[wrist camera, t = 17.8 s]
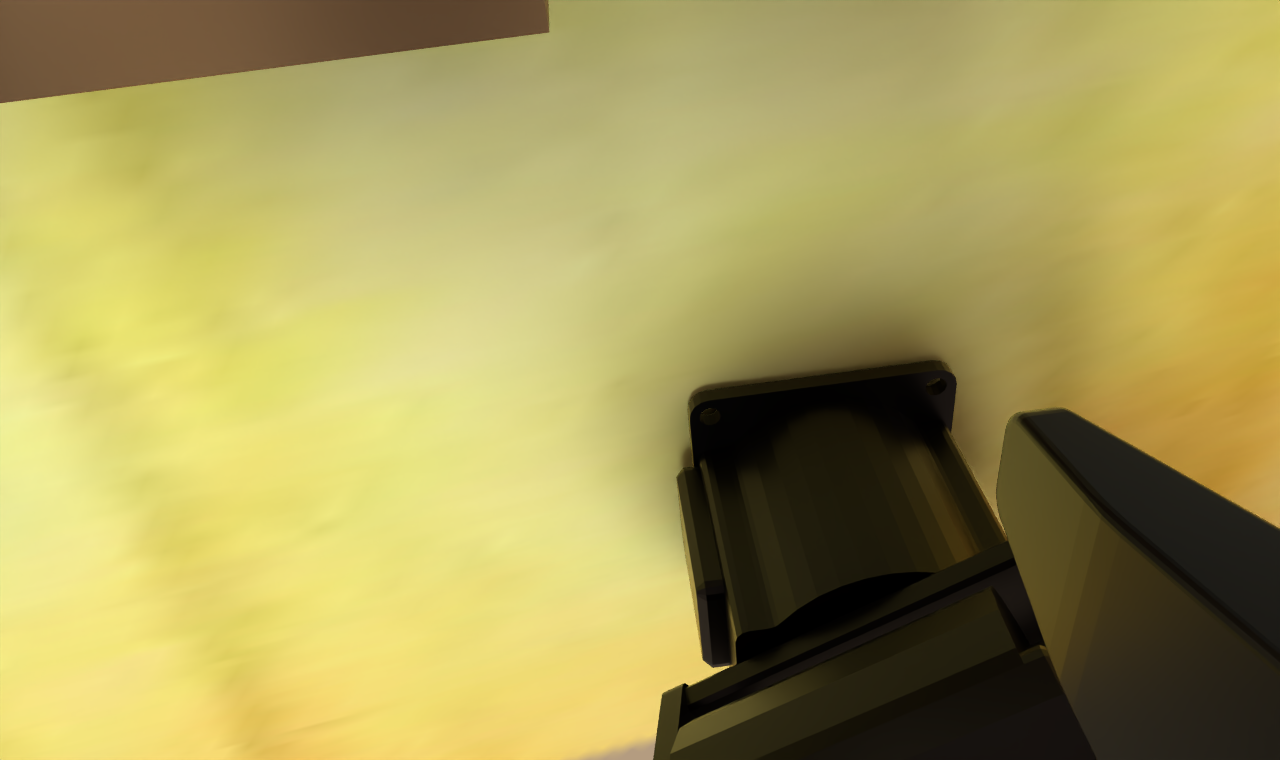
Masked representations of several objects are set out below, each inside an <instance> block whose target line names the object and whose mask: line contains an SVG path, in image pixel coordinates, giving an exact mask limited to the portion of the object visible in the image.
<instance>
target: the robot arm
mask: <svg viewBox="0 0 1280 760" xmlns="http://www.w3.org/2000/svg"><path fill="white" fill-rule="evenodd" d="M936 378H940V380H939V381H938V382H937V383H936V384H933V385H930V386H928V385H927V384H928V383H929V382H930V381H931V380H933V379H936ZM956 385H957V383H956V378H955V376H954V374H953V372H952V371H951V369H950V368H949V366H948V365H947V364H946V363H944V362H942V361H926V362H918V363H911V364H903V365H895V366H888V367H880V368H873V369H865V370H858V371H850V372H842V373H835V374H827V375H820V376H812V377H805V378H797V379H790V380H782V381H774V382H767V383H759V384H752V385H744V386H737V387H729V388H721V389H714V390H706V391H703V392H700V393H698V394H696V395H695V396H693V397H692V399H691V400H690V402H689V403H688V420H689V431H690V441H691V452H692V463H693V467H688V468H683V469H682V471H681V472H680V473H679V474H678V476H677V477H676V478H677V488H678V497H679V506H680V516H681V525H682V535H683V543H684V550H685V556H686V562H687V568H688V574H689V580H690V586H691V592H692V598H693V604H694V610H695V616H696V622H697V628H698V634H699V640H700V646H701V652H702V658H703V660H704V661H705V662H706V663H707V664H709V665H710V666H711V667H713V668H714V667H722V666H730V667H729V668H727V669H725V670H723V671H721V672H718V673H716V674H714V675H712V676H710V677H708V678H705V679H703V680H701V681H699V682H697V683H695V684H692V685H690V686H688V685H687V684H686V683H684V684H682V685H679V686H677V687H675V688H673V689H671V690H669V691H666V692H664V693H663V694H662V699H661V706H660V714H659V721H658V728H657V736H656V743H655V751H654V758H653V760H1280V528H1278V527H1276V526H1275V525H1273V524H1271V523H1269V522H1268V521H1266V520H1264V519H1262V518H1260V517H1259V516H1257V515H1255V514H1253V513H1252V512H1250V511H1248V510H1246V509H1244V508H1243V507H1241V506H1239V505H1237V504H1236V503H1234V502H1232V501H1230V500H1229V499H1227V498H1225V497H1223V496H1221V495H1220V494H1218V493H1216V492H1214V491H1213V490H1211V489H1209V488H1207V487H1205V486H1204V485H1202V484H1200V483H1198V482H1197V481H1195V480H1193V479H1191V478H1189V477H1188V476H1186V475H1184V474H1182V473H1181V472H1179V471H1177V470H1175V469H1173V468H1172V467H1170V466H1168V465H1166V464H1165V463H1163V462H1161V461H1159V460H1157V459H1156V458H1154V457H1152V456H1150V455H1149V454H1147V453H1145V452H1143V451H1142V450H1140V449H1138V448H1136V447H1134V446H1133V445H1131V444H1129V443H1127V442H1126V441H1124V440H1122V439H1120V438H1118V437H1117V436H1115V435H1113V434H1111V433H1110V432H1108V431H1106V430H1104V429H1102V428H1101V427H1099V426H1097V425H1095V424H1094V423H1092V422H1090V421H1088V420H1086V419H1085V418H1083V417H1081V416H1079V415H1078V414H1076V413H1074V412H1072V411H1070V410H1068V409H1065V408H1047V409H1040V410H1032V411H1025V412H1019V413H1016V414H1015V415H1013V416H1012V417H1011V418H1010V419H1009V421H1008V423H1007V426H1006V430H1005V436H1004V442H1003V449H1002V455H1001V461H1000V468H999V474H998V480H997V488H996V499H997V507H998V511H999V515H1000V518H1001V521H1002V524H1003V527H1004V530H1005V533H1006V535H1007V537H1006V535H1005V533H1004V531H1003V529H1002V527H1001V525H1000V524H999V522H998V520H997V518H996V516H995V514H994V512H993V511H992V509H991V507H990V505H989V503H988V501H987V500H986V498H985V496H984V494H983V492H982V490H981V488H980V487H979V485H978V483H977V481H976V479H975V477H974V475H973V474H972V472H971V470H970V468H969V466H968V464H967V462H966V461H965V459H964V457H963V455H962V453H961V451H960V449H959V448H958V446H957V444H956V442H955V440H954V438H953V436H952V435H951V429H952V420H953V411H954V403H955V394H956ZM709 408H711V409H716V411H715V412H714V413H713V414H710V415H703V414H701V413H702V412H703V411H704V410H706V409H709Z"/></svg>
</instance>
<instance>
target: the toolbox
mask: <svg viewBox="0 0 1280 760" xmlns="http://www.w3.org/2000/svg"><path fill="white" fill-rule="evenodd" d="M547 32H549V4H548V0H0V103H5V102H13V101H21V100H29V99H36V98H44V97H52V96H60V95H67V94H75V93H83V92H91V91H98V90H106V89H114V88H122V87H129V86H137V85H145V84H153V83H160V82H168V81H176V80H184V79H191V78H199V77H207V76H215V75H222V74H230V73H238V72H245V71H253V70H261V69H269V68H276V67H284V66H292V65H300V64H307V63H315V62H323V61H331V60H338V59H346V58H354V57H362V56H369V55H377V54H385V53H393V52H400V51H408V50H416V49H424V48H431V47H439V46H447V45H455V44H462V43H470V42H478V41H486V40H493V39H501V38H509V37H517V36H524V35H532V34H540V33H547Z"/></svg>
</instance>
